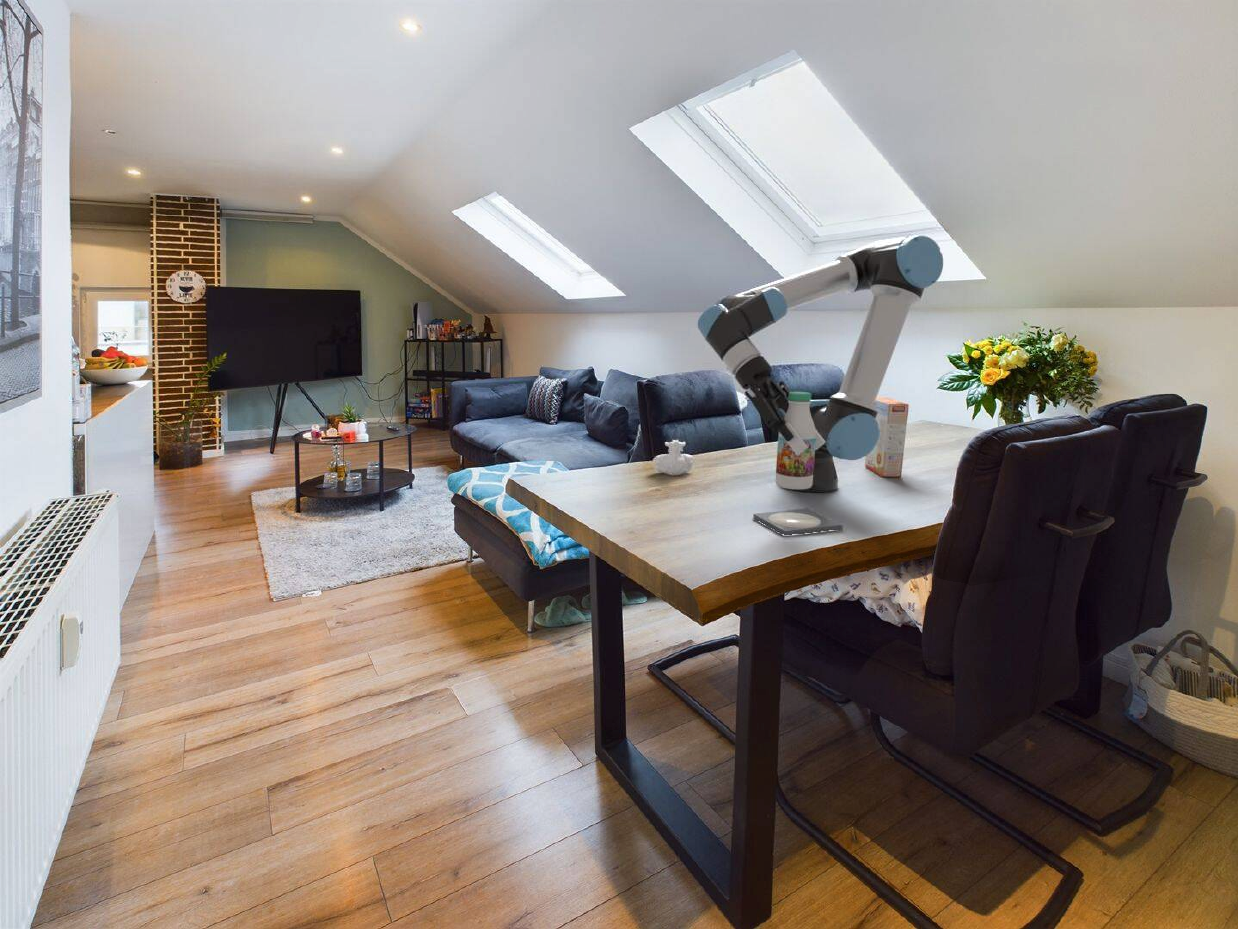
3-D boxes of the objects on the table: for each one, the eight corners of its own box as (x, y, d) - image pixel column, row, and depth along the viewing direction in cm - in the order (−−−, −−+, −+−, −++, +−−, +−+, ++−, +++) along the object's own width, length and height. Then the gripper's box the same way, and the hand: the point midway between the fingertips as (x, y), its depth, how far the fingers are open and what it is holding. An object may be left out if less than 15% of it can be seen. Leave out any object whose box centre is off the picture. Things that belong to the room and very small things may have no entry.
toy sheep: (653, 482, 193) (656, 456, 184) (650, 461, 198) (654, 436, 189) (694, 481, 194) (700, 456, 185) (691, 461, 199) (696, 435, 190)
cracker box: (902, 477, 190) (910, 403, 185) (881, 477, 190) (887, 403, 185) (884, 466, 204) (890, 397, 199) (864, 466, 204) (870, 397, 199)
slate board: (807, 513, 156) (807, 507, 156) (842, 530, 144) (842, 524, 144) (753, 518, 152) (753, 513, 151) (784, 536, 140) (785, 530, 139)
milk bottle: (770, 481, 148) (776, 390, 144) (804, 481, 149) (811, 390, 145) (781, 490, 141) (787, 394, 136) (817, 490, 142) (825, 394, 137)
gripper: (760, 374, 157) (820, 452, 151) (711, 380, 142) (775, 467, 136) (782, 352, 153) (845, 431, 146) (733, 356, 138) (801, 444, 131)
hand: (811, 448), depth 141 cm, fingers closed on milk bottle, 7 cm apart
